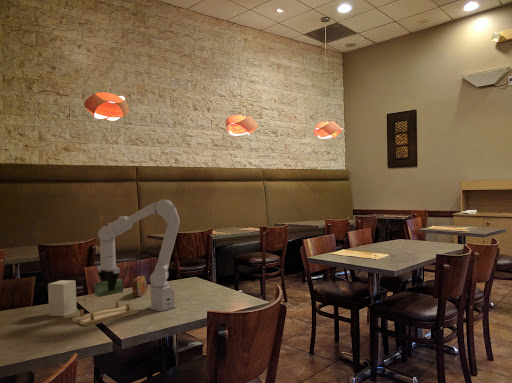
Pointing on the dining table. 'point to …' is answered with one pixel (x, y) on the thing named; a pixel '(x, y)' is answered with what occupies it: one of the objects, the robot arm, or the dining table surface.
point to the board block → (103, 290)
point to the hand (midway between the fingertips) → (108, 289)
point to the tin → (139, 286)
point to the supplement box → (62, 297)
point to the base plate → (104, 314)
